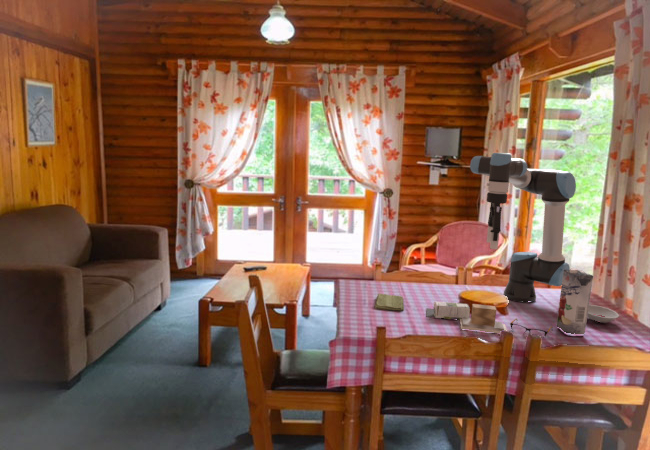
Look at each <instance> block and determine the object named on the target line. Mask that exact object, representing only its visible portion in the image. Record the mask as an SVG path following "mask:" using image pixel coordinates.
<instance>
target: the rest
mask: <svg viewBox="0 0 650 450" xmlns="http://www.w3.org/2000/svg"><path fill="white" fill-rule="evenodd" d="M460 324H461V326H460V330H461V329H469V330H480V331H485V332H494V333H500V331H497V330H488V329H480V328H471V327H463V325H462V319H460V321H459V325H460ZM502 324H503V327H504V330H506V331H508V330H507V329H508V328H507V326H506V324H505V323H502Z"/></svg>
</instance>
